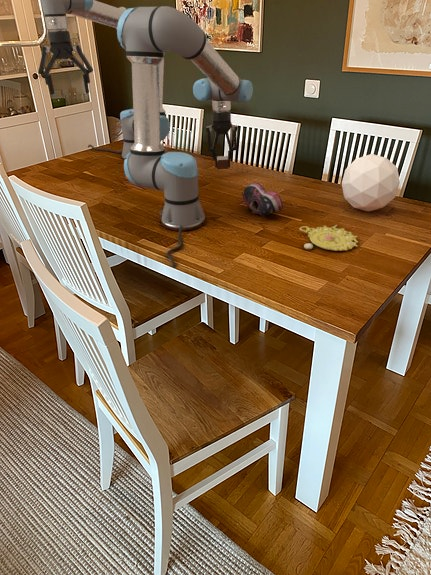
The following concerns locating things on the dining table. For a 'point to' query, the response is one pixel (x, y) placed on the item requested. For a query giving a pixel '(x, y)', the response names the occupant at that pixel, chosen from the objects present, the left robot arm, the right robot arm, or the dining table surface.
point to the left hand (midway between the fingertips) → (70, 93)
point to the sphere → (370, 182)
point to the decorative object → (330, 238)
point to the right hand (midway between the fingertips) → (222, 166)
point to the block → (222, 162)
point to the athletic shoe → (261, 200)
